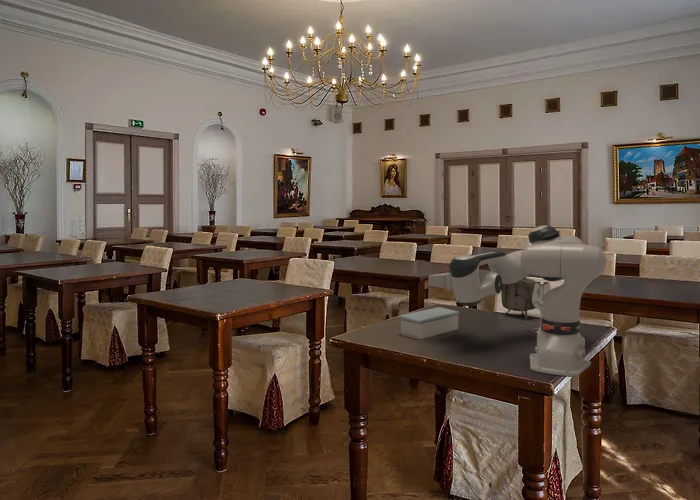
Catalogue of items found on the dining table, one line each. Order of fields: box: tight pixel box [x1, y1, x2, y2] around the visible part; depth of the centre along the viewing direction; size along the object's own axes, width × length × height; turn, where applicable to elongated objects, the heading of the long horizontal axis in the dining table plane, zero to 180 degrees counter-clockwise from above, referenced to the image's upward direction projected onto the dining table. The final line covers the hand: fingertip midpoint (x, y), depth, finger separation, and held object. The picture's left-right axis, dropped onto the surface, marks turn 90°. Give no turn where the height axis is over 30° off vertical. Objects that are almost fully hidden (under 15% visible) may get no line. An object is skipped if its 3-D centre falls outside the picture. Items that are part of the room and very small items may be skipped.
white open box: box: [400, 314, 459, 340], centre depth 217 cm, size 10×24×6 cm, turn 131°
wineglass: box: [531, 281, 552, 334], centre depth 215 cm, size 8×8×20 cm
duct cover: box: [398, 306, 460, 323], centre depth 217 cm, size 11×25×1 cm, turn 132°
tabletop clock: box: [500, 276, 537, 320], centre depth 242 cm, size 14×9×25 cm, turn 36°
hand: (434, 276), depth 213 cm, fingers closed
